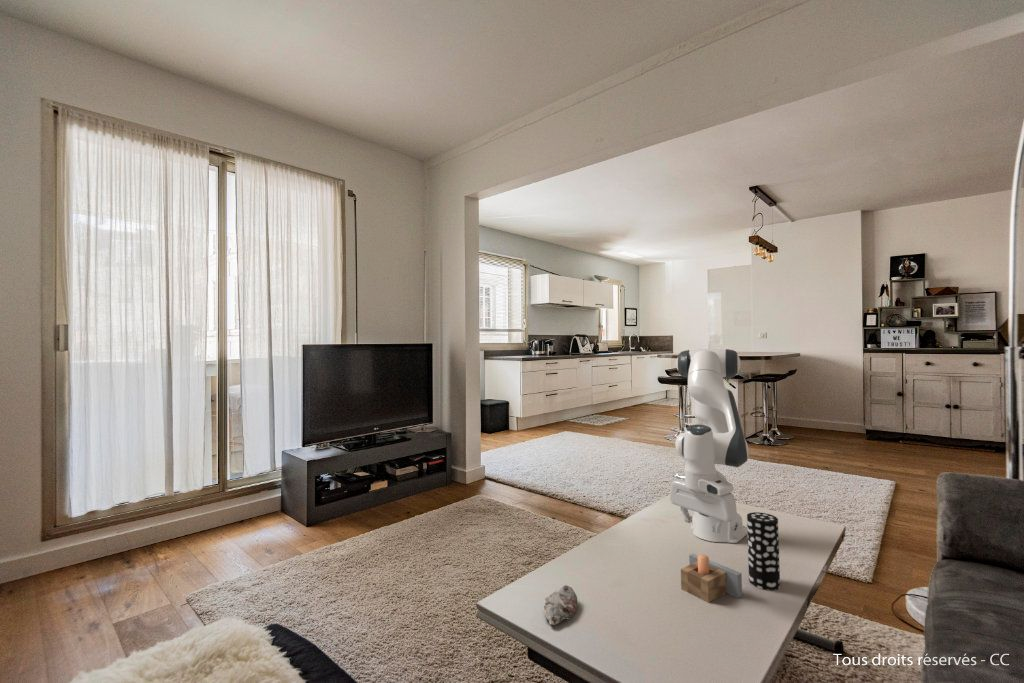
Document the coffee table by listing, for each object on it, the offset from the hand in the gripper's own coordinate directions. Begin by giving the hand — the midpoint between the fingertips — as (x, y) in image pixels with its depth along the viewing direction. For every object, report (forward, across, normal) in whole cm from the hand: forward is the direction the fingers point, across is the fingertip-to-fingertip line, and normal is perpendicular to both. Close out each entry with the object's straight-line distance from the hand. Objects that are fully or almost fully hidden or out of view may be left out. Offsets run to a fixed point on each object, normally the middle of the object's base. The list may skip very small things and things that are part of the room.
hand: (702, 527), depth 137 cm
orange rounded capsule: (+19, 0, -1) cm, 19 cm away
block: (+19, 0, -1) cm, 19 cm away
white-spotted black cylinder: (+19, +8, +18) cm, 27 cm away
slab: (+19, 0, +5) cm, 19 cm away
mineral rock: (+18, -16, -42) cm, 48 cm away
